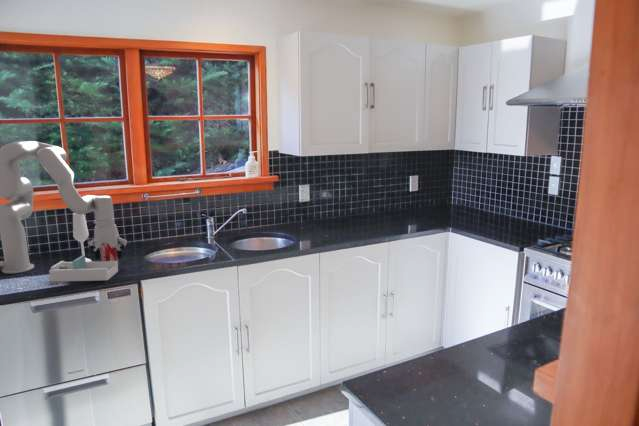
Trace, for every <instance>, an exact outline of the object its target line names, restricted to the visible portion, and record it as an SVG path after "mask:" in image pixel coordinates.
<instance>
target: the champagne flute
mask: <svg viewBox="0 0 639 426" xmlns="http://www.w3.org/2000/svg"><path fill="white" fill-rule="evenodd" d="M72 233H73V235H72V237H73V238H74V240H75V241H77V242H78V243H80V248H81V256H85V262H88V261H92V259H91V258H87V257H86V254H85V246H84V242H85V241H86V240H87V239H88V238H89V235H90V233H89V230H88V225H87V220H86V214H83V215H78V214H76V213H74V212H72Z"/></svg>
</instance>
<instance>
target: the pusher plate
mask: <svg viewBox="0 0 639 426" xmlns="http://www.w3.org/2000/svg"><path fill="white" fill-rule="evenodd" d="M85 258H86V255H85V256H82V255H80V256H79V257H77V258H76V259H74V260H72V261H71V262H73V269H86V262H85Z"/></svg>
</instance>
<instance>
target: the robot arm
mask: <svg viewBox="0 0 639 426" xmlns="http://www.w3.org/2000/svg"><path fill="white" fill-rule="evenodd" d="M30 160H32V161H33V160H35V161H38V162H39V164H40V165H41V167H42V168H43V169H44V170H45V172H46V173H47V174H48V176H50V177H51V179H52V180H53V181H54V182H55V184H56V186H57V190H58V193H59V196H60V199H61V200H62V201H63V202H64V204H65V205H66V206H67V208H68V209H69V210H70V211H71V212H72V213H76V214H78V215H83V214H84V215H86V214H88V213H90V212H94V213H95V219H94V220H92V222H93V224H95V226H94V232H93V239H91V240H89V241H87V244H88V246H90V248H91V249H92V250H93V252H94V256H95V258H96V261H99V260H101V256H100V248H101V245H102V242H108V244H109V245H110V247H111V248H114V247H115V248H116V249H117V256H118V260H120V259H122V258H123V249H124V248H125V247H126V245H127V242H128V240H127V239H124V238H122V237H120V234H119V230H118V227H117V224H115V215H114V206H113V199H112V196H111V195H107V194H106V195H93V194H92V195H91V194H86V195H84V196H83V195H82V196H81V195H80V194H79V192H78V190H77V189H76V187H75V186H74V178H75V172H74V171H73V169H71V167H70V166H69V165H68V163H66V162H67V160H68V154H67V152H66V151H65V149H64V148H62V147H60V146H58V145H53V144H50V143H49V144H48V143H44V142H40V141H35V140H25V141H23V140H21V141H20V140H19V141H13V142H10V143H6V144H4V145H3V146H1V147H0V198H1V199H3V200H6V201H7V202H5V203H2V204H0V239H1V240H0V241H1V246H2V252H3V253H2V254H3V260H4V261H3V260H1V261H0V267H2V268H1V272H2V274H7V275H9V274H10V275H13V274H21V273H24V272H29V271H31V270H33V269H34V268H35V264H34V263H31V262H30V256H29V248H28V242H27V235H26V230H25V227H24V225H23V223H22V221H23V220H25V219H28V218H30V217H31V215H33V211H34V186H33V184H32V182H31V181H30V180H29V179H28V178H27V177H25V176H22V175H21V174H22V172H21V171H22V170H21V169H22V168H21V166H20V164H19V162H24V161H25V162H26V161H30ZM121 243H122V244H121Z"/></svg>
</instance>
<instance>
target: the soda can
mask: <svg viewBox="0 0 639 426" xmlns="http://www.w3.org/2000/svg"><path fill="white" fill-rule="evenodd" d="M99 250H100V256H101V258H100V261H117V263H118V264H119V259H118V256H117V251H118V250H117V249H116V248H115V247H114V248H111V247H110V245H109V244H108V242H102V245H101V248H99Z"/></svg>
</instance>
